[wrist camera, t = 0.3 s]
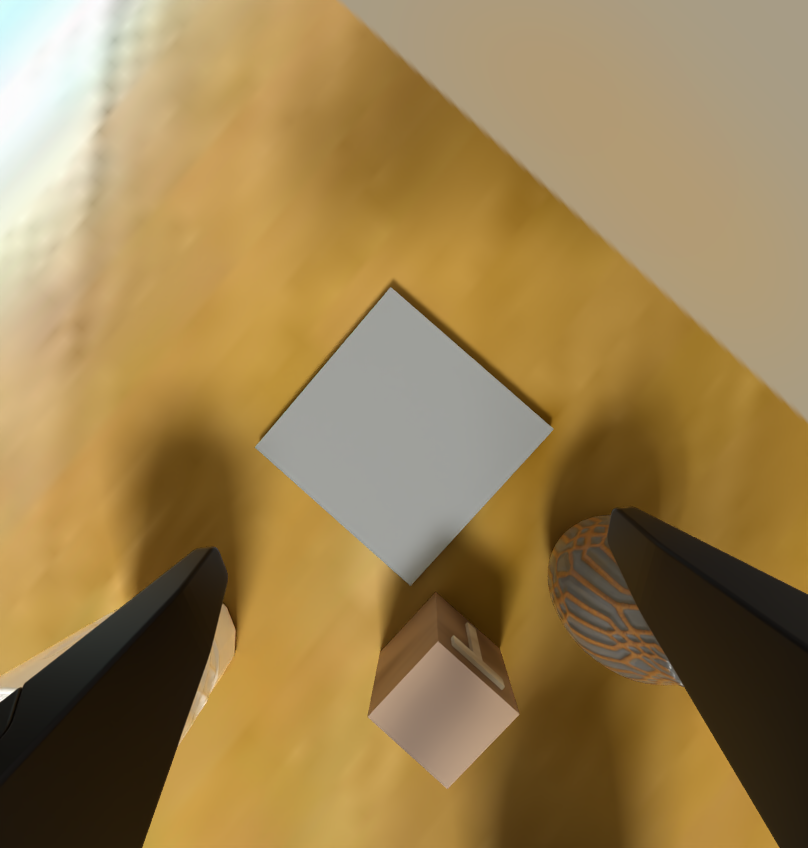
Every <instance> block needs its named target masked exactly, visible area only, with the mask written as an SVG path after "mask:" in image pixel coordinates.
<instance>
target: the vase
mask: <svg viewBox="0 0 808 848" xmlns="http://www.w3.org/2000/svg"><path fill="white" fill-rule="evenodd" d="M610 517H611V515H603V516H596V517H592V518H589V519H586V520H583V521H581V522H579V523H577V524H575V525H574V526H572V527H571V528H570V529H568V530H567V531H566V532H565V533H564V534H563V535H562V536H561V537H560V539H559V540H558V542H557V543H556V545H555V547H554V549H553V551H552V554H551V557H550V561H549V566H548V585H549V591H550V596H551V599H552V602H553V605H554V607H555V610H556V612H557V614H558V616H559V618H560V620H561V621H562V623H563V625H564V627H565V628H566V630H567V631H568V632H569V634H570V635H571V637H572V638H573V639H574V640H575V641H576V643H577V644H578V645H579V646H580V647H581V648H582V649H583V650H584V651H585V652H586V653H588V654H589V655H590V656H591V657H593V658H594V659H595V660H596V661H598V662H599V663H601V664H602V665H604V666H605V667H607V668H608V669H610V670H612V671H613V672H615V673H617V674H619V675H621V676H624V677H626V678H629V679H631V680H634V681H638V682H642V683H647V684H654V685H680V686H682V687H684V686H683V684H682V682H681V681H680V679H679V677H678V675H677V674H676V672H675V670H674V669H673V667H672V665H671V664H670V662H669V660H668V659H667V657H666V655H665V654H664V652H663V650H662V648H661V647H660V645H659V643H658V642H657V640H656V638H655V637H654V635H653V633H652V632H651V630H650V628H649V627H648V625H647V623H646V621H645V620H644V618H643V616H642V614H641V613H640V611H639V609H638V607H637V605H636V603H635V601H634V599H633V597H632V595H631V593H630V591H629V588H628V586H627V584H626V582H625V580H624V578H623V576H622V573H621V571H620V569H619V567H618V565H617V563H616V560H615V558H614V556H613V554H612V552H611V550H610V548H609V545H608V541H607V533H608V528H609V522H610Z"/></svg>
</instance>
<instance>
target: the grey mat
mask: <svg viewBox="0 0 808 848" xmlns="http://www.w3.org/2000/svg"><path fill="white" fill-rule="evenodd" d="M552 430H553V428H552V427H551V426H550V425H548V424H547V423H546V422H545V421H544V420H543V419H542V418H540V417H539V416H538V415H537V414H536V413H535V412H534V411H532V410H531V409H530V408H529V407H528V406H527V405H525V404H524V403H523V402H522V401H521V400H520V399H519V398H517V397H516V396H515V395H514V394H513V393H512V392H511V391H509V390H508V389H507V388H506V387H505V386H504V385H503V384H501V383H500V382H499V381H498V380H497V379H496V378H495V377H493V376H492V375H491V374H490V373H489V372H488V371H486V370H485V369H484V368H483V367H482V366H481V365H480V364H478V363H477V362H476V361H475V360H474V359H473V358H472V357H470V356H469V355H468V354H467V353H466V352H465V351H464V350H462V349H461V348H460V347H459V346H458V345H457V344H456V343H454V342H453V341H452V340H451V339H450V338H449V337H447V336H446V335H445V334H444V333H443V332H442V331H441V330H439V329H438V328H437V327H436V326H435V325H434V324H433V323H431V322H430V321H429V320H428V319H427V318H426V317H425V316H423V315H422V314H421V313H420V312H419V311H418V310H417V309H415V308H414V307H413V306H412V305H411V304H410V303H408V302H407V301H406V300H405V299H404V298H403V297H402V296H400V295H399V294H398V293H397V292H396V291H395V290H394V289H392V288H391V287H390V289H389V290H388V291H387V292H386V293H385V295H384V296H383V297H382V298H381V299H380V300H379V302H378V303H377V304H376V305H375V306H374V307H373V309H372V310H371V311H370V312H369V313H368V315H367V316H366V317H365V318H364V319H363V320H362V322H361V323H360V324H359V325H358V326H357V328H356V329H355V330H354V331H353V332H352V333H351V335H350V336H349V337H348V338H347V339H346V341H345V342H344V343H343V344H342V345H341V346H340V348H339V349H338V350H337V351H336V352H335V353H334V355H333V356H332V357H331V358H330V359H329V361H328V362H327V363H326V364H325V365H324V366H323V368H322V369H321V370H320V371H319V372H318V374H317V375H316V376H315V377H314V378H313V379H312V381H311V382H310V383H309V384H308V385H307V387H306V388H305V389H304V390H303V391H302V392H301V394H300V395H299V396H298V397H297V398H296V399H295V401H294V402H293V403H292V404H291V405H290V407H289V408H288V409H287V410H286V411H285V412H284V414H283V415H282V416H281V417H280V418H279V420H278V421H277V422H276V423H275V424H274V425H273V427H272V428H271V429H270V430H269V431H268V433H267V434H266V435H265V436H264V437H263V438H262V440H261V441H260V442H259V443H258V444H257V445H256V447H255V448H256V449H257V450H258V451H260V452H261V453H262V454H263V455H264V456H265V457H266V458H267V459H269V460H270V461H271V462H272V463H273V464H274V465H275V466H276V467H277V468H279V469H280V470H281V471H282V472H283V473H284V474H285V475H286V476H288V477H289V478H290V479H291V480H292V481H293V482H294V483H295V484H297V485H298V486H299V487H300V488H301V489H302V490H303V491H304V492H306V493H307V494H308V495H309V496H310V497H311V498H312V499H313V500H315V501H316V502H317V503H318V504H319V505H320V506H321V507H322V508H324V509H325V510H326V511H327V512H328V513H329V514H330V515H331V516H333V517H334V518H335V519H336V520H337V521H338V522H339V523H340V524H341V525H343V526H344V527H345V528H346V529H347V530H348V531H349V532H350V533H352V534H353V535H354V536H355V537H356V538H357V539H358V540H359V541H361V542H362V543H363V544H364V545H365V546H366V547H367V548H368V549H370V550H371V551H372V552H373V553H374V554H375V555H376V556H377V557H379V558H380V559H381V560H382V561H383V562H384V563H385V564H386V565H388V566H389V567H390V568H391V569H392V570H393V571H394V572H395V573H397V574H398V575H399V576H400V577H401V578H402V579H403V580H404V581H406V582H407V583H408V584H409V585H410V586H411V585H412V584H413V583H414V582H415V580H416V579H417V578H418V577H419V576H420V575H421V574H422V573H423V572H424V571H425V569H426V568H427V567H428V566H429V565H430V564H431V563H432V562H433V561H434V560H435V559H436V557H437V556H438V555H439V554H440V553H441V552H442V551H443V550H444V549H445V548H446V546H447V545H448V544H449V543H450V542H451V541H452V540H453V539H454V538H455V537H456V536H457V534H458V533H459V532H460V531H461V530H462V529H463V528H464V527H465V526H466V525H467V524H468V522H469V521H470V520H471V519H472V518H473V517H474V516H475V515H476V514H477V513H478V511H479V510H480V509H481V508H482V507H483V506H484V505H485V504H486V503H487V502H488V501H489V499H490V498H491V497H492V496H493V495H494V494H495V493H496V492H497V491H498V490H499V488H500V487H501V486H502V485H503V484H504V483H505V482H506V481H507V480H508V479H509V478H510V476H511V475H512V474H513V473H514V472H515V471H516V470H517V469H518V468H519V467H520V465H521V464H522V463H523V462H524V461H525V460H526V459H527V458H528V457H529V456H530V455H531V453H532V452H533V451H534V450H535V449H536V448H537V447H538V446H539V445H540V444H541V443H542V441H543V440H544V439H545V438H546V437H547V436H548V435H549V434H550V433H551V432H552Z"/></svg>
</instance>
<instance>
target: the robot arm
mask: <svg viewBox="0 0 808 848" xmlns="http://www.w3.org/2000/svg"><path fill="white" fill-rule="evenodd" d="M607 541H608V545H609V548H610V550H611V552H612V554H613V556H614V558H615V560H616V563H617V565H618V567H619V569H620V571H621V573H622V576H623V578H624V580H625V582H626V584H627V586H628V588H629V591H630V593H631V595H632V597H633V599H634V601H635V603H636V605H637V607H638V609H639V611H640V613H641V614H642V616H643V618H644V620H645V621H646V623H647V625H648V627H649V628H650V630H651V632H652V633H653V635H654V637H655V638H656V640H657V642H658V643H659V645H660V647H661V648H662V650H663V652H664V654H665V655H666V657H667V659H668V660H669V662H670V664H671V665H672V667H673V669H674V670H675V672H676V674H677V675H678V677H679V679H680V681H681V682H682V684H683V686H684V687H685V689H686V691H687V692H688V694H689V696H690V697H691V699H692V701H693V702H694V704H695V706H696V707H697V709H698V711H699V713H700V714H701V716H702V718H703V719H704V721H705V723H706V724H707V726H708V728H709V729H710V731H711V733H712V734H713V736H714V738H715V740H716V741H717V743H718V745H719V746H720V748H721V750H722V751H723V753H724V755H725V756H726V758H727V760H728V761H729V763H730V765H731V767H732V768H733V770H734V772H735V773H736V775H737V777H738V778H739V780H740V782H741V783H742V785H743V787H744V788H745V790H746V792H747V793H748V795H749V797H750V799H751V800H752V802H753V804H754V805H755V807H756V809H757V810H758V812H759V814H760V815H761V817H762V819H763V820H764V822H765V824H766V826H767V827H768V829H769V831H770V832H771V834H772V836H773V837H774V839H775V841H776V842H777V844H778V846H779V847H780V848H808V594H806V593H804V592H802V591H800V590H798V589H796V588H794V587H792V586H790V585H788V584H786V583H784V582H782V581H780V580H778V579H776V578H774V577H772V576H770V575H768V574H766V573H764V572H762V571H760V570H758V569H756V568H754V567H752V566H750V565H748V564H746V563H744V562H742V561H741V560H739V559H737V558H735V557H733V556H731V555H729V554H727V553H725V552H723V551H721V550H719V549H717V548H715V547H713V546H711V545H709V544H707V543H705V542H703V541H701V540H699V539H697V538H695V537H693V536H691V535H689V534H687V533H685V532H683V531H681V530H679V529H677V528H675V527H673V526H671V525H669V524H667V523H665V522H663V521H661V520H659V519H657V518H655V517H653V516H651V515H649V514H647V513H645V512H643V511H641V510H639V509H637V508H635V507H632V506H627V507H617V508H614V509H613V511H612V513H611V517H610V522H609V528H608V533H607ZM227 582H228V574H227V570H226V568H225V565H224V562H223V560H222V557H221V555H220V552H219V550H218V549H217V548H216V547H214V546H211V547H200V548H197V549H195V550H193V551H192V552H191V553H189V554H188V555H187V556H186V557H184V558H183V559H182V560H181V561H179V562H178V563H177V564H175V565H174V566H173V567H172V568H170V569H169V570H168V571H167V572H165V573H164V574H163V575H161V576H160V577H159V578H158V579H156V580H155V581H154V582H153V583H151V584H150V585H149V586H147V587H146V588H145V589H144V590H142V591H141V592H140V593H139V594H137V595H136V596H135V597H133V598H132V599H131V600H130V601H128V602H127V603H126V604H125V605H123V606H122V607H121V608H119V609H118V610H117V611H116V612H114V613H113V614H112V615H111V616H109V617H108V618H107V619H105V620H104V621H103V622H102V623H100V624H99V625H98V626H97V627H95V628H94V629H93V630H91V631H90V632H89V633H88V634H86V635H85V636H84V637H83V638H81V639H80V640H79V641H77V642H76V643H75V644H74V645H72V646H71V647H70V648H69V649H67V650H66V651H65V652H63V653H62V654H61V655H60V656H58V657H57V658H56V659H55V660H53V661H52V662H51V663H49V664H48V665H47V666H46V667H44V668H43V669H42V670H40V671H39V672H38V673H37V674H35V675H34V676H33V677H32V678H30V679H29V680H28V681H26V682H25V683H24V685H23V687H19V688H17V689H16V690H15V691H14V692H12V693H11V694H10V695H9V696H7V697H6V698H5V699H3V700H2V701H1V702H0V848H142V847H143V844H144V841H145V838H146V835H147V832H148V829H149V827H150V824H151V821H152V818H153V815H154V812H155V809H156V807H157V804H158V801H159V798H160V795H161V792H162V790H163V787H164V784H165V781H166V778H167V775H168V772H169V770H170V767H171V764H172V761H173V758H174V755H175V752H176V750H177V747H178V744H179V741H180V738H181V735H182V732H183V730H184V727H185V724H186V721H187V718H188V715H189V712H190V710H191V707H192V704H193V701H194V698H195V695H196V692H197V690H198V687H199V684H200V681H201V678H202V675H203V673H204V670H205V667H206V664H207V661H208V658H209V655H210V652H211V648H212V645H213V641H214V637H215V633H216V629H217V624H218V620H219V616H220V612H221V608H222V603H223V599H224V595H225V591H226V587H227Z"/></svg>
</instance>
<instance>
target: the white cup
mask: <svg viewBox="0 0 808 848" xmlns="http://www.w3.org/2000/svg"><path fill="white" fill-rule="evenodd" d="M117 610H118V609H116V610H115V611H113V612H111V613H109V614H107V615H106V616H104V617H102V618H100V619H98V620H96V621H95V622H93V623H91V624H89V625H87V626H85V627H83V628H82V629H80V630H78V631H76V632H75V633H73V634H71V635H70V636H68V637H66V638H64V639H63V640H61V641H59V642H58V643H56V644H54V645H52V646H51V647H49V648H47V649H45V650H44V651H42V652H40V653H39V654H37V655H35V656H33V657H32V658H30V659H28V660H26V661H25V662H23V663H21V664H20V665H18V666H16V667H14V668H13V669H11V670H9V671H7V672H6V673H4V674H2V675H1V676H0V702H1V701H2V700H3V699H5V698H6V697H7V696H9V695H10V694H11V693H12V692H14V691H15V690H16V689H17V688H19V687H23V685H24V683H25V682H26V681H28V680H29V679H30V678H32V677H33V676H34V675H35V674H37V673H38V672H39V671H40V670H42V669H43V668H44V667H46V666H47V665H48V664H49V663H51V662H52V661H53V660H55V659H56V658H57V657H58V656H60V655H61V654H62V653H63V652H65V651H66V650H67V649H69V648H70V647H71V646H72V645H74V644H75V643H76V642H77V641H79V640H80V639H81V638H83V637H84V636H85V635H86V634H88V633H89V632H90V631H91V630H93V629H94V628H95V627H97V626H98V625H99V624H100V623H102V622H103V621H104V620H105V619H107V618H108V617H109V616H111V615H112V614H113V613H114V612H116V611H117ZM235 636H236V629H235V627H234V624H233V622H232V619H231V617H230V614H229V612H228V609H227V607H226V606H225V605H224V604H223V603H222V608H221V612H220V616H219V620H218V624H217V629H216V633H215V637H214V641H213V645H212V648H211V652H210V655H209V658H208V661H207V664H206V667H205V670H204V673H203V675H202V678H201V681H200V684H199V687H198V690H197V692H196V695H195V698H194V701H193V704H192V707H191V710H190V712H189V715H188V718H187V721H186V724H185V727H184V730H183V732H182V735H181V738H180V741H179V744H180V742H181V741H182V739H183V738H184V736H185V735H186V733H187V732H188V730H189V729H190V727H191V726H192V724H193V723H194V721H195V719H196V717H197V715H198V714H199V713H200V711H201V710H202V708H203V707H204V705H205V704H206V702H207V701H208V698H209V695H210V693H211V691H212V690H213V688H214V687H215V686H216V684H217V683H218V681H219V680H220V679H221V677H222V675H223V674H224V672H225V670H226V669H227V667H228V665H229V663H230V662H231V660H232V658H233V656H234V652H235ZM179 744H178V745H179Z"/></svg>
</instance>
